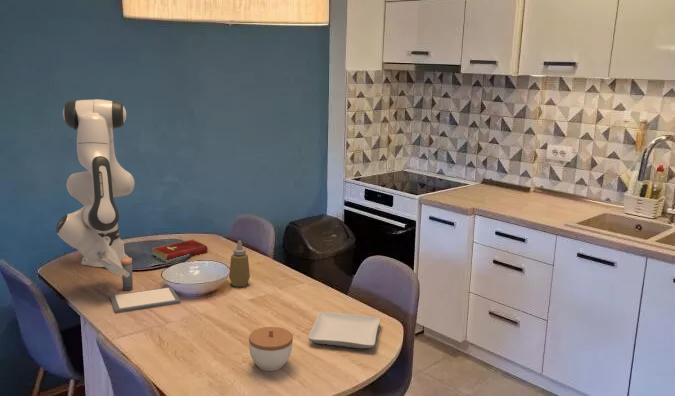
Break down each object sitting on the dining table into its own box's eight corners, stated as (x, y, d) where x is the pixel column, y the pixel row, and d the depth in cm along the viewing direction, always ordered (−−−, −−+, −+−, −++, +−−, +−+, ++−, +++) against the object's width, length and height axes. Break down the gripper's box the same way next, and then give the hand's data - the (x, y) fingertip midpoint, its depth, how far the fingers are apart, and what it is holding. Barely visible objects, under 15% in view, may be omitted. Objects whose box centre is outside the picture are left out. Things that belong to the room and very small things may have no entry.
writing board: (110, 298, 214) (110, 295, 213) (171, 289, 224) (171, 286, 223) (115, 313, 202) (115, 310, 201) (180, 303, 212) (180, 300, 211)
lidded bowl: (293, 354, 179) (293, 320, 176) (291, 376, 167) (292, 340, 164) (251, 353, 178) (251, 319, 176) (246, 375, 166) (246, 339, 164)
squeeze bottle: (248, 289, 227) (248, 244, 223) (227, 288, 227) (226, 243, 223) (251, 281, 235) (251, 238, 230) (231, 280, 235) (231, 237, 230)
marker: (121, 288, 223) (120, 258, 220) (132, 286, 224) (131, 256, 222) (123, 291, 220) (121, 261, 217) (134, 290, 221) (132, 260, 218)
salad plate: (319, 319, 204) (319, 309, 204) (380, 325, 201) (380, 316, 200) (306, 347, 184) (306, 337, 183) (374, 355, 181) (374, 345, 180)
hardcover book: (207, 254, 266) (207, 245, 265) (166, 264, 251) (165, 254, 250) (193, 247, 274) (193, 238, 273) (151, 256, 259) (151, 247, 258)
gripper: (106, 251, 205) (137, 274, 212) (100, 235, 223) (128, 256, 229) (93, 265, 204) (124, 287, 211) (88, 247, 222) (116, 268, 228)
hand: (126, 271), depth 220 cm, fingers open, 8 cm apart
